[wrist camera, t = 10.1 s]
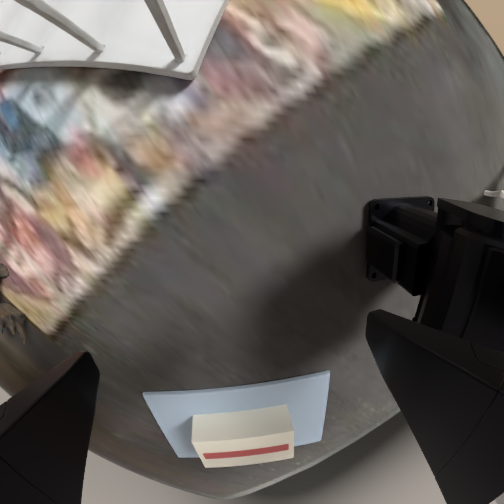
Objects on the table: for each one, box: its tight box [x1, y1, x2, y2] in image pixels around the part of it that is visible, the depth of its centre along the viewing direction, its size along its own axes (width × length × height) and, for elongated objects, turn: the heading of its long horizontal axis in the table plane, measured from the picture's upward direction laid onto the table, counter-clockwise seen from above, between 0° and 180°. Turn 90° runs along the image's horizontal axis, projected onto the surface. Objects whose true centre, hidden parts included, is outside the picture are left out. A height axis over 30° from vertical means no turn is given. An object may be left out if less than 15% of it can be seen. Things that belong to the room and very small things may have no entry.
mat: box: [142, 370, 330, 458], centre depth 26 cm, size 18×13×1 cm
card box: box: [192, 404, 294, 468], centre depth 24 cm, size 6×10×4 cm, turn 96°
